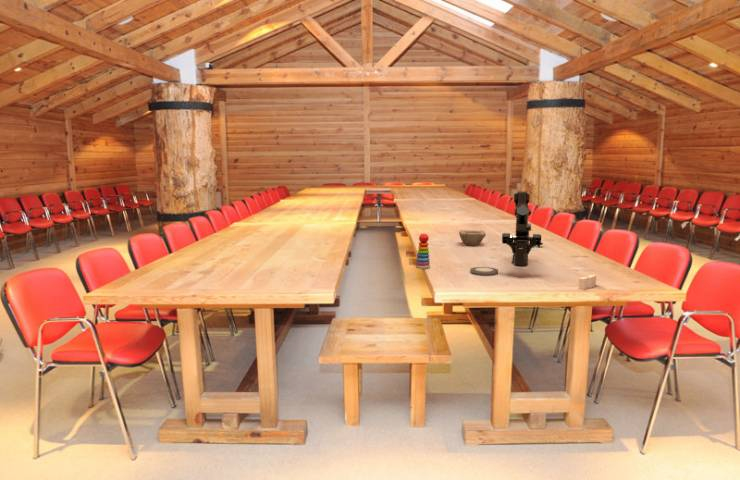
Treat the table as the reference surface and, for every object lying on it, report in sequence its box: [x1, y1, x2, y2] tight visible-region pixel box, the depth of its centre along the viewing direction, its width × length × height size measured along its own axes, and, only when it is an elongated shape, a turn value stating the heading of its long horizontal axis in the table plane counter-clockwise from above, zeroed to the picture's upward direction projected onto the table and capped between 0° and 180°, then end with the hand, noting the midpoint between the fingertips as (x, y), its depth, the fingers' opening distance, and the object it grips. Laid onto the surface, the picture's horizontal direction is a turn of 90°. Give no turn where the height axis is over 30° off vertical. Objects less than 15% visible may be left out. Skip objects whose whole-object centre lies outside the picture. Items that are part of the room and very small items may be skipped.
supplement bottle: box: [513, 241, 529, 268], centre depth 269 cm, size 7×7×12 cm
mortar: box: [458, 229, 487, 247], centre depth 360 cm, size 17×17×9 cm
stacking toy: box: [414, 232, 431, 270], centre depth 291 cm, size 8×8×19 cm
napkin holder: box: [578, 274, 597, 291], centre depth 249 cm, size 15×11×6 cm
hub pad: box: [469, 266, 499, 277], centre depth 280 cm, size 14×14×2 cm
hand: (521, 253), depth 268 cm, fingers closed on supplement bottle, 7 cm apart
